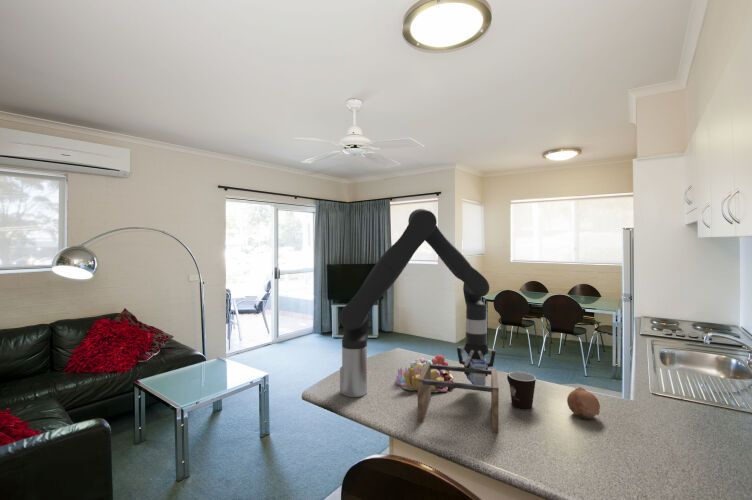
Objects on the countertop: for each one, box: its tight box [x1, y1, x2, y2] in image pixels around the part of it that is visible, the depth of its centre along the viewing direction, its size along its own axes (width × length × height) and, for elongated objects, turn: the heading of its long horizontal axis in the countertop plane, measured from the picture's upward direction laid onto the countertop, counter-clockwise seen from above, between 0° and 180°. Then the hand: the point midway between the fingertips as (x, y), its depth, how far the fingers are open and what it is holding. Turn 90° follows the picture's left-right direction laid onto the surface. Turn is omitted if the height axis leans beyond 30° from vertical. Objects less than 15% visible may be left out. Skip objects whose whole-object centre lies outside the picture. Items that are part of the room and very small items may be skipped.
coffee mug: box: [506, 371, 537, 411], centre depth 121 cm, size 12×9×10 cm
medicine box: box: [466, 358, 487, 386], centre depth 130 cm, size 8×4×9 cm, turn 4°
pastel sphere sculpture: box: [396, 354, 455, 393], centre depth 142 cm, size 25×24×9 cm
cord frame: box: [417, 362, 500, 433], centre depth 114 cm, size 24×17×13 cm
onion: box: [566, 386, 601, 420], centre depth 112 cm, size 9×9×10 cm
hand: (475, 376), depth 130 cm, fingers closed on medicine box, 5 cm apart
